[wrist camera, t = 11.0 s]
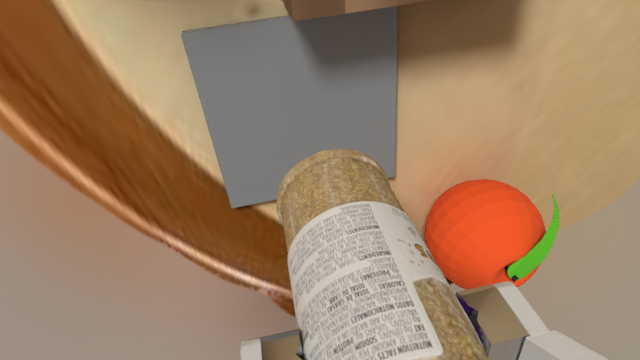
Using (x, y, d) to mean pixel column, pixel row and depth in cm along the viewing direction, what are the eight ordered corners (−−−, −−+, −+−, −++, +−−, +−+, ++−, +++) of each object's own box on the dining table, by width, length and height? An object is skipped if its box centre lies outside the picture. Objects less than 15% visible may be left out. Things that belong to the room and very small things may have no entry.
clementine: (476, 126, 24) (552, 196, 19) (535, 176, 28) (615, 247, 22) (387, 216, 27) (431, 300, 21) (451, 251, 31) (503, 332, 25)
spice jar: (397, 211, 17) (697, 749, 6) (298, 251, 17) (421, 839, 6) (369, 123, 14) (809, 795, 4) (253, 171, 15) (329, 947, 4)
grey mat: (393, 0, 19) (397, 2, 19) (391, 171, 25) (395, 176, 25) (182, 31, 18) (181, 34, 18) (231, 202, 24) (231, 208, 24)
